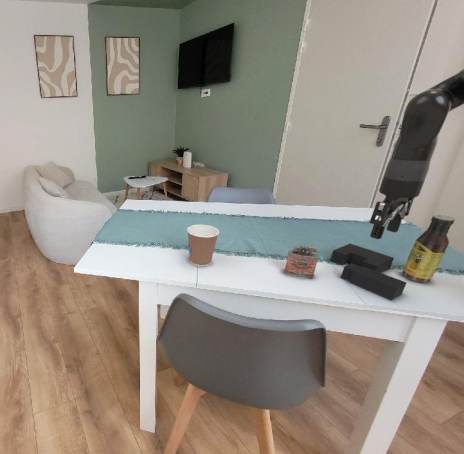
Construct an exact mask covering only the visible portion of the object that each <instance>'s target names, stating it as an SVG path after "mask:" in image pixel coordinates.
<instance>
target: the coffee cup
mask: <svg viewBox="0 0 464 454" xmlns="http://www.w3.org/2000/svg"><path fill="white" fill-rule="evenodd" d="M186 232H187V239H188V240H187V241H188V242H187V243H188V257H189V261H190V263H191V264H193V265H194V266H198V267H206V266H209V265H210V264H211V262H212V260H213V255H214V252H215V247H216V244H217V239H218V235H219V234H220V230H219V229H218V228H217V227H216V226H212V225H210V224H209V225H208V224H193V225H190V226H188V227H187V228H186Z"/></svg>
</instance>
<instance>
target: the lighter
mask: <svg viewBox="0 0 464 454" xmlns="http://www.w3.org/2000/svg"><path fill="white" fill-rule="evenodd" d="M318 253H319V248H318V247H313V246H306V245H305V244H301V245H293V250H292V249H291V250H288V251H287V257H286V258H287V259H286V262H285V267H284V269H283V274H284V275H287V276H290V277H294V278H301V279H309V280H312V279H314V277H315V271H316V268H317V264H318V260H319V259H320V254H318Z"/></svg>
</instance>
